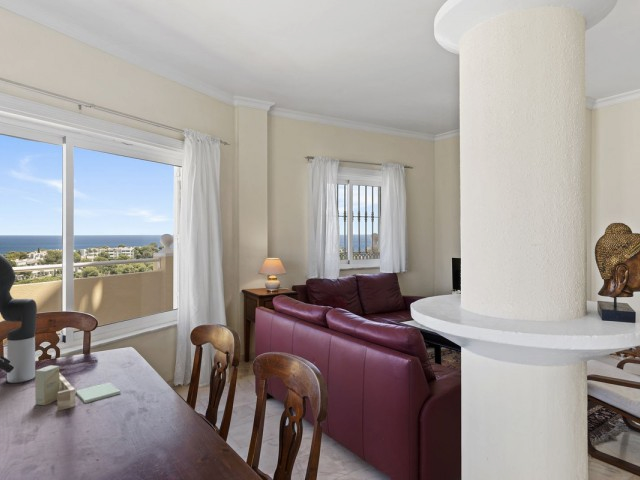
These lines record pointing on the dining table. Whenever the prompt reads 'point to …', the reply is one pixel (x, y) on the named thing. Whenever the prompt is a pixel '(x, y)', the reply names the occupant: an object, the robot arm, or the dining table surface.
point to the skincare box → (46, 385)
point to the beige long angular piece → (65, 394)
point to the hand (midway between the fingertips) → (9, 367)
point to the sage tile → (97, 392)
